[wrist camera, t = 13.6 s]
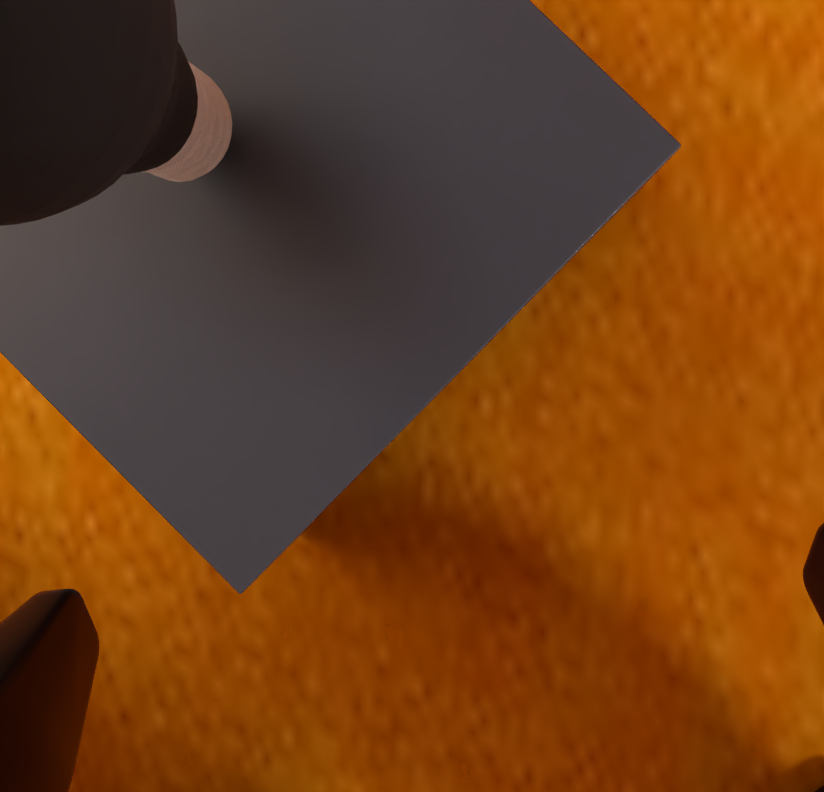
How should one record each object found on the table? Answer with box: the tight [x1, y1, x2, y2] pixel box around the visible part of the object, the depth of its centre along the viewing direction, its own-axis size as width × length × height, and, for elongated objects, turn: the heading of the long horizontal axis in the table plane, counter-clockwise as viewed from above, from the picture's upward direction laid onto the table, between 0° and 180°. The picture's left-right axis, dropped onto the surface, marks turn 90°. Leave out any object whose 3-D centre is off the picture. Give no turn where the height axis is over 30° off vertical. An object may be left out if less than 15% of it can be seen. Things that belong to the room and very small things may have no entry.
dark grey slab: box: [0, 0, 681, 594], centre depth 18 cm, size 12×15×4 cm
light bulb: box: [0, 0, 232, 226], centre depth 11 cm, size 6×6×10 cm
